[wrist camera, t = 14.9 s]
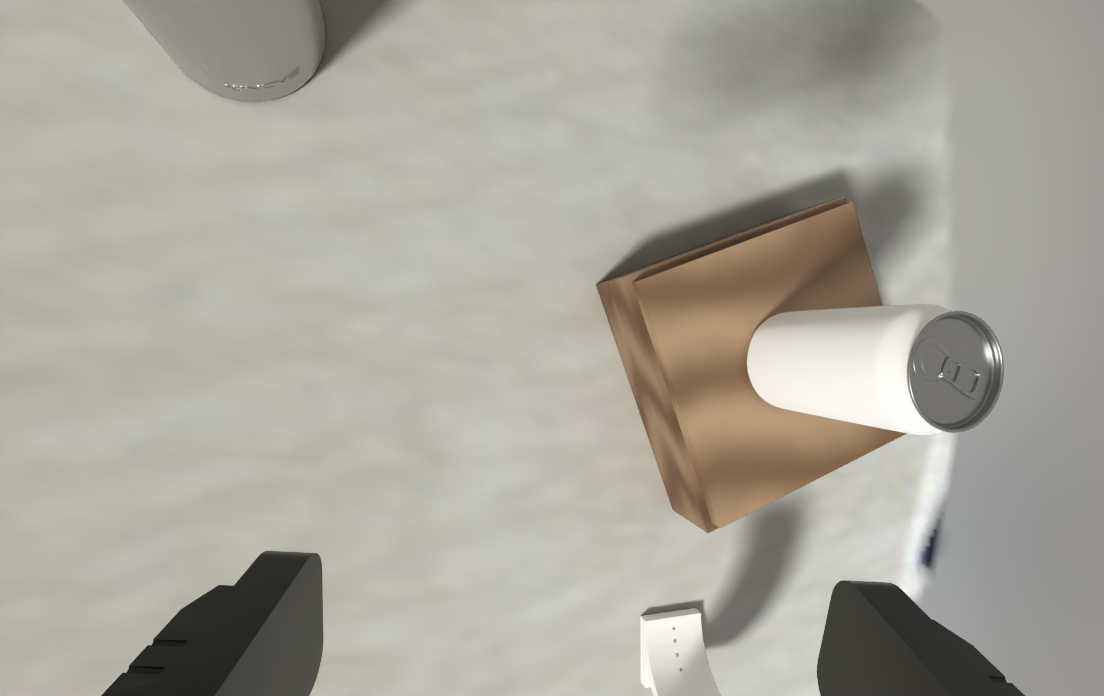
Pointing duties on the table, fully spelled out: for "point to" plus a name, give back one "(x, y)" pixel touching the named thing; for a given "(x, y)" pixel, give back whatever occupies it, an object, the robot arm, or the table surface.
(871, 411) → the can
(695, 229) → the table surface
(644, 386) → the podium
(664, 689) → the white curved piece
